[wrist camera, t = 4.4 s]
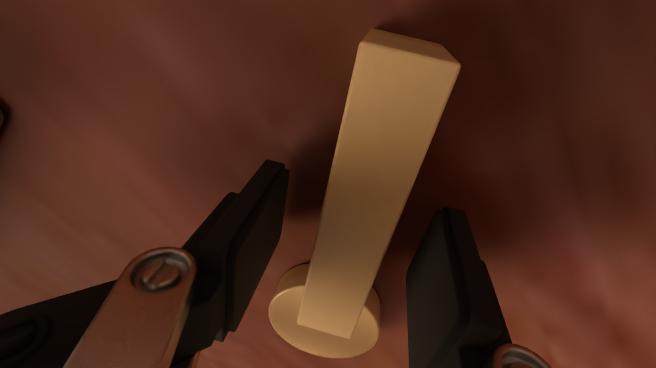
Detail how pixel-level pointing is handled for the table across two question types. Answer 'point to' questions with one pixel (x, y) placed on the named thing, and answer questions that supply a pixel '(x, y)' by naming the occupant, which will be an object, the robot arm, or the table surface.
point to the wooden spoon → (365, 194)
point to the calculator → (1, 117)
